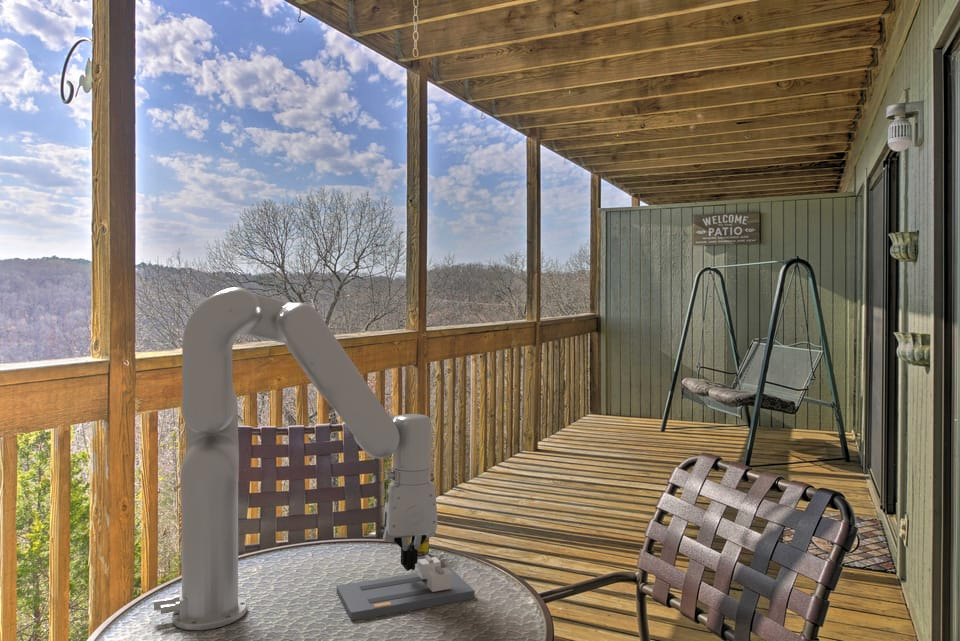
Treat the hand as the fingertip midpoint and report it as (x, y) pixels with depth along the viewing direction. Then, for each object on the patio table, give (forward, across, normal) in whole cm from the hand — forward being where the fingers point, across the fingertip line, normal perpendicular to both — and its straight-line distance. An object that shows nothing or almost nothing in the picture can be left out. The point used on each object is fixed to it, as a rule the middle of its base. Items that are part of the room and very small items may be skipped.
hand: (408, 567), depth 132 cm
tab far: (+2, +4, 0) cm, 5 cm away
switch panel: (+4, -2, -3) cm, 6 cm away
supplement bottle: (+4, +7, +17) cm, 19 cm away
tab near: (+2, +4, -7) cm, 8 cm away
